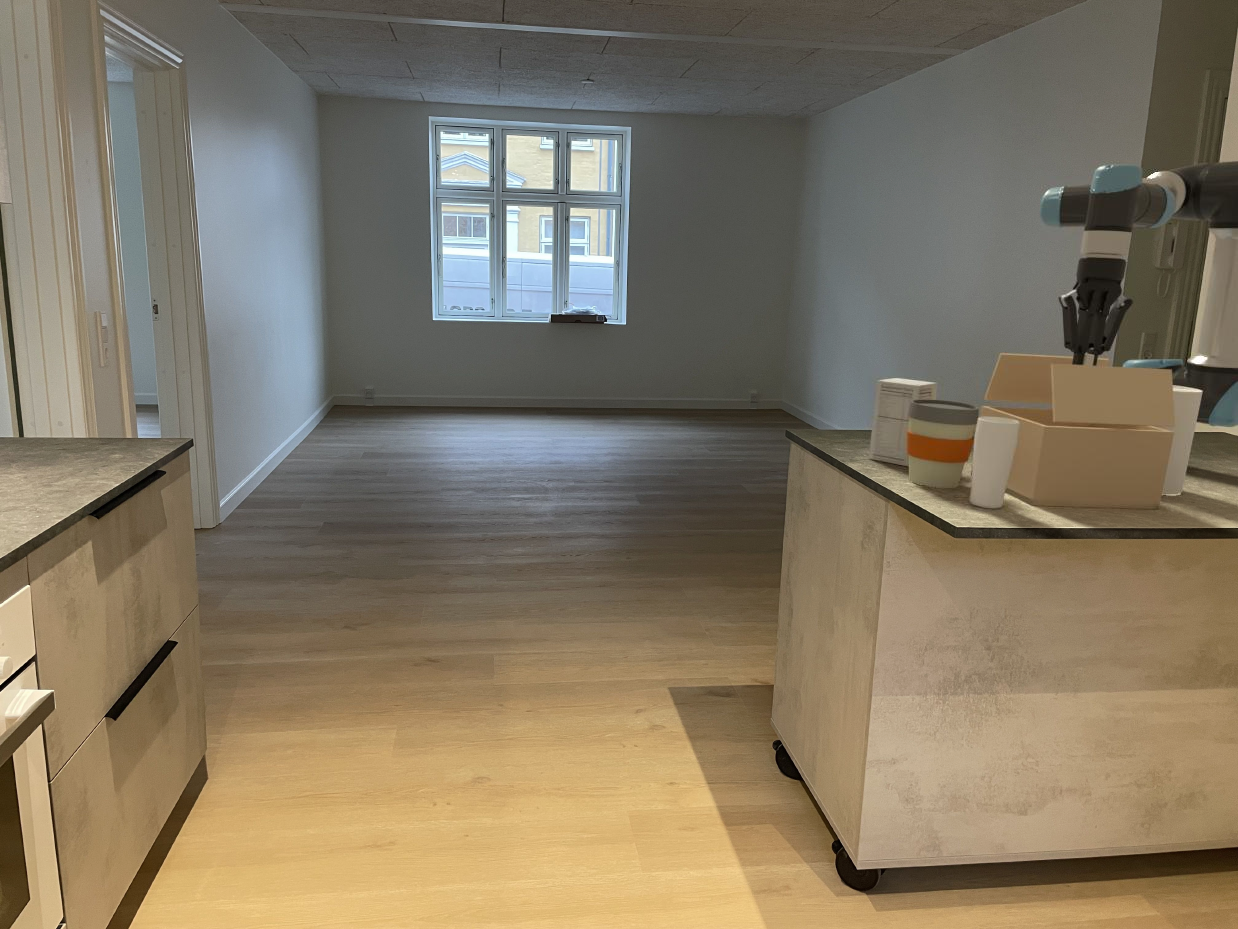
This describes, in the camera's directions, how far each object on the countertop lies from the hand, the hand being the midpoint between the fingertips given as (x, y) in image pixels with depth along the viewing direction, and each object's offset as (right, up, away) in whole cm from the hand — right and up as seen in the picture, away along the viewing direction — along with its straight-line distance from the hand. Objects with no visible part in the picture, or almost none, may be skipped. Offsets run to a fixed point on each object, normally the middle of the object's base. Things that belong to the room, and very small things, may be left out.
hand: (1079, 389), depth 161 cm
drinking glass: (-21, -21, -9) cm, 31 cm away
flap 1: (-1, +3, +10) cm, 11 cm away
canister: (+19, -18, +13) cm, 30 cm away
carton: (-1, -19, +5) cm, 20 cm away
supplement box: (-25, -13, +25) cm, 38 cm away
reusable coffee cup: (-24, -17, +7) cm, 31 cm away
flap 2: (+1, -2, -9) cm, 9 cm away
